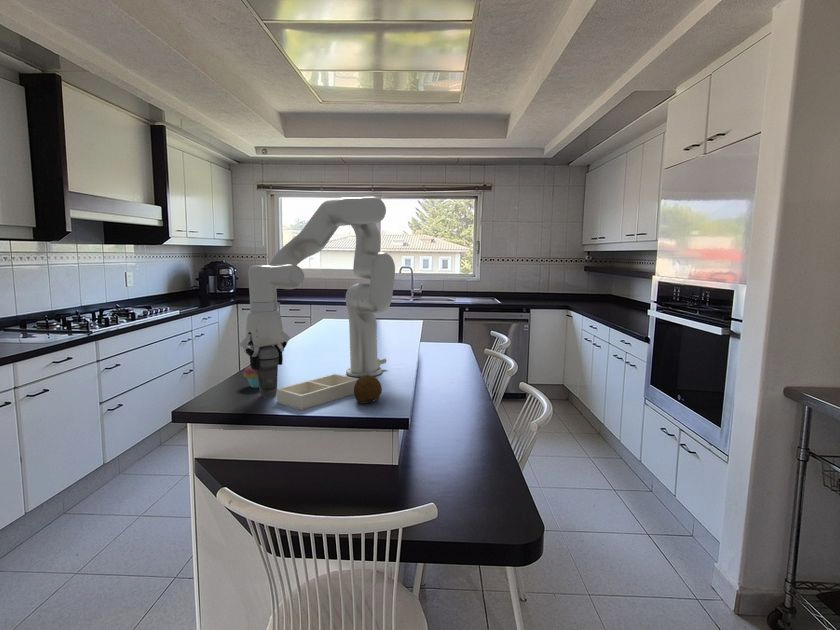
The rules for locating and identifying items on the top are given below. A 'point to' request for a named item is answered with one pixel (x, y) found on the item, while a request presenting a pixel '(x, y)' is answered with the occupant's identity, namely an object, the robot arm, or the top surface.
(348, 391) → the cup carrier
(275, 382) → the beverage cup
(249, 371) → the cupcake
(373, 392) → the potato
